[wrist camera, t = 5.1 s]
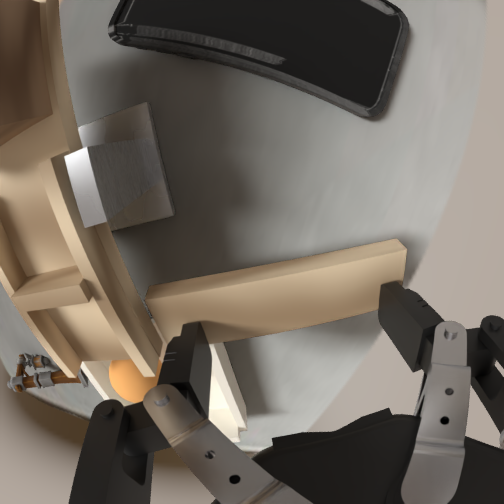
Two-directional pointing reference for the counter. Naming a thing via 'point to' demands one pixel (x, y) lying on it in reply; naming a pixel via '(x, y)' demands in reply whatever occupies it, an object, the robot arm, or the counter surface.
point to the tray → (221, 391)
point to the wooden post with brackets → (41, 375)
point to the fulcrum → (120, 171)
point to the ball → (131, 380)
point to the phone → (280, 41)
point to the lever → (106, 251)
